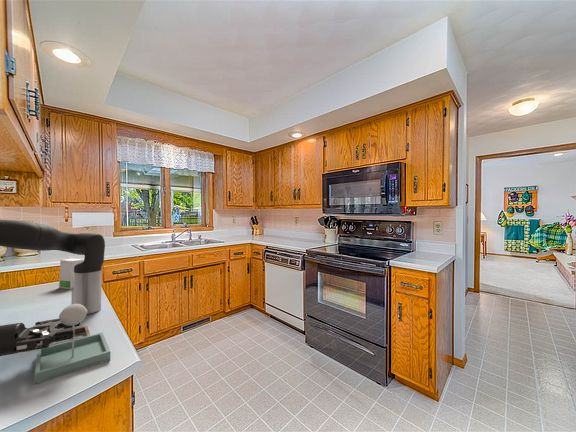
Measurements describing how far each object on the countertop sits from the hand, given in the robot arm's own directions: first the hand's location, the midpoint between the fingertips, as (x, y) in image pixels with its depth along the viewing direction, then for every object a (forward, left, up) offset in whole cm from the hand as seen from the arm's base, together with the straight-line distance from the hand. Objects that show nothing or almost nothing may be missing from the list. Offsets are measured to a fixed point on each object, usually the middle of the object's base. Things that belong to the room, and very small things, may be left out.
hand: (77, 327), depth 72 cm
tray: (-1, 0, -9) cm, 9 cm away
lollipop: (-1, -1, -8) cm, 8 cm away
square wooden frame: (-12, +8, -9) cm, 16 cm away
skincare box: (-71, +57, -9) cm, 91 cm away
